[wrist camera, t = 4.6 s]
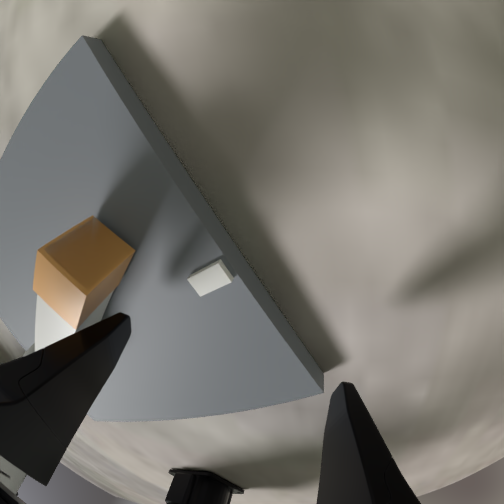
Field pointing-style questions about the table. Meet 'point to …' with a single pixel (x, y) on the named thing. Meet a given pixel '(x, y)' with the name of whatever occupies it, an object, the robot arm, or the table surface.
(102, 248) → the white and tan block
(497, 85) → the table surface
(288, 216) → the table surface
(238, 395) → the dial board
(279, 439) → the table surface
